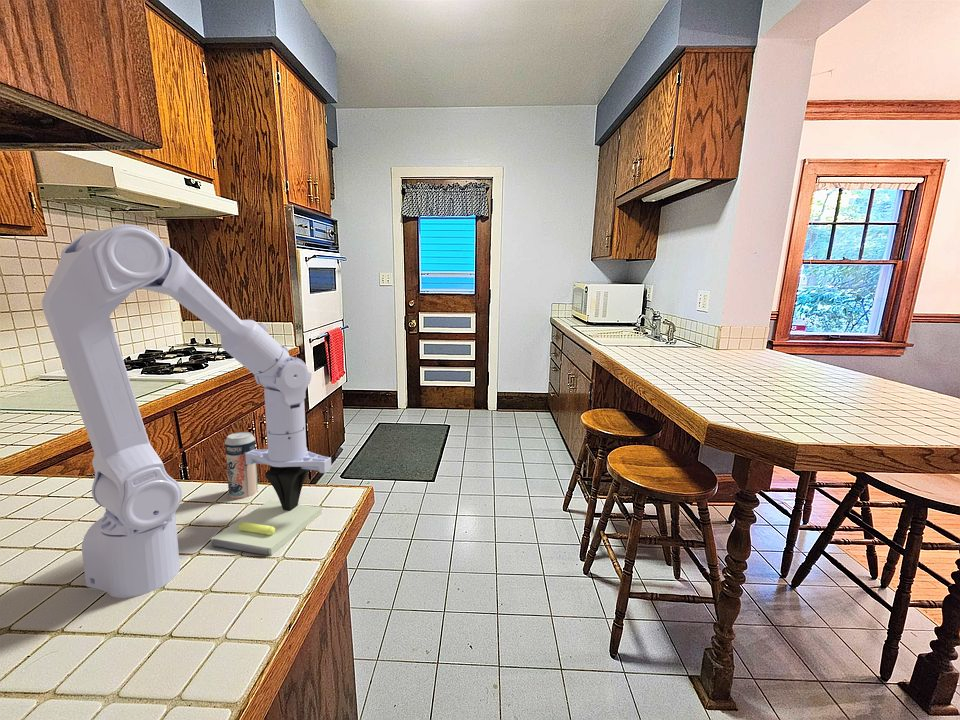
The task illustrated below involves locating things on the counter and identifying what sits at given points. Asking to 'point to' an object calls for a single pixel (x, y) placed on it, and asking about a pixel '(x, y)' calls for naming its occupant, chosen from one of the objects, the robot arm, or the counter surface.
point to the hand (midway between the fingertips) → (290, 508)
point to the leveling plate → (266, 528)
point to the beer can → (240, 465)
